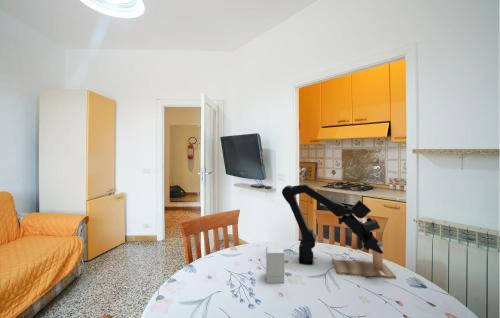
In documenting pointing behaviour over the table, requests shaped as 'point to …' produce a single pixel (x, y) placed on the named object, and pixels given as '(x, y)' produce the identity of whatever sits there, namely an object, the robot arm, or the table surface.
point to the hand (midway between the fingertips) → (380, 251)
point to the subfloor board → (361, 269)
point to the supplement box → (275, 264)
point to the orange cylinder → (378, 257)
